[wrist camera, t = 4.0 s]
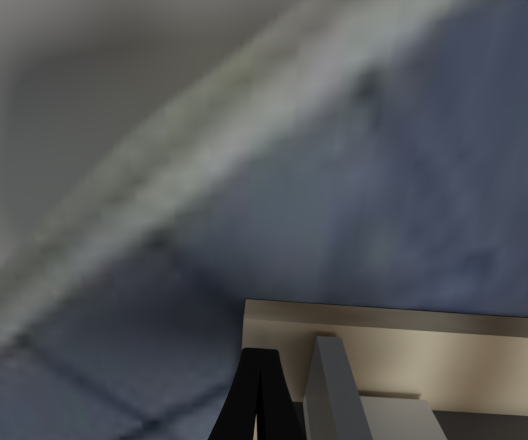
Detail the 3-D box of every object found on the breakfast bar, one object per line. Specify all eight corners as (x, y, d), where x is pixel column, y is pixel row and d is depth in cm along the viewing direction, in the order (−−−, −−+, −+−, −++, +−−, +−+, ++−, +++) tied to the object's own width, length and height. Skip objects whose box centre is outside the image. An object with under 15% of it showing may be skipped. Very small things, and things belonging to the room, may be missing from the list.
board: (236, 467, 18) (234, 492, 16) (245, 299, 12) (243, 319, 11) (534, 484, 18) (551, 509, 17) (680, 328, 12) (720, 350, 11)
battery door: (302, 403, 12) (316, 520, 9) (316, 335, 11) (339, 447, 7) (420, 411, 13) (479, 528, 9) (453, 345, 11) (540, 458, 7)
